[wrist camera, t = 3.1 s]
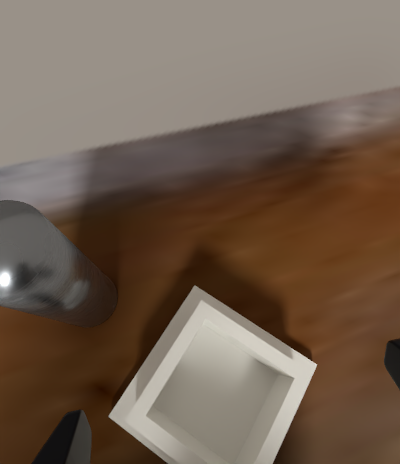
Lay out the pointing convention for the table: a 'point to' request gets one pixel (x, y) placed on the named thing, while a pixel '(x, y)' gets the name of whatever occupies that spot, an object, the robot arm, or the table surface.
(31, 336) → the table surface
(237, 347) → the socket
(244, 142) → the table surface
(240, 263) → the table surface
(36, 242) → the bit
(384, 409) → the table surface
